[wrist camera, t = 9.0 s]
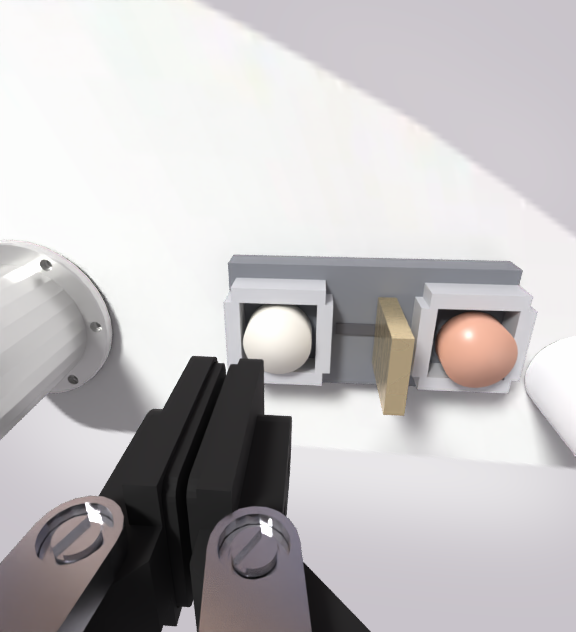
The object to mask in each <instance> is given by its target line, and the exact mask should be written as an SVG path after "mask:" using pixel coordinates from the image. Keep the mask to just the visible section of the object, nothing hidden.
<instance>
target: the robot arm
mask: <svg viewBox="0 0 576 632" xmlns="http://www.w3.org/2000/svg"><path fill="white" fill-rule="evenodd" d="M111 345H112V326H111V319H110V316H109V313H108V310H107V307H106V304H105V302H104V300H103V298H102V297H101V295H100V293H99V291H98V290H97V288H96V287H95V286H94V284H93V283H92V282H91V281H90V279H89V278H88V277H87V276H86V275H85V274H84V273H83V272H82V271H81V270H80V269H79V268H78V267H77V266H76V265H74V264H73V263H72V262H70V261H69V260H67V259H66V258H64V257H63V256H62V255H60V254H58V253H56V252H54V251H52V250H50V249H48V248H46V247H43V246H40V245H37V244H33V243H30V242H25V241H16V240H4V241H0V440H1V439H2V438H3V437H4V436H5V435H6V434H7V433H8V432H9V431H10V430H11V429H12V428H13V427H14V426H15V425H16V424H17V423H18V422H19V421H20V420H21V419H22V418H23V417H24V416H25V415H26V414H27V413H28V412H29V411H30V410H31V409H32V408H33V407H34V406H35V405H36V404H37V403H38V402H39V401H40V400H41V399H43V398H44V397H45V396H46V395H47V394H50V393H62V392H66V391H71V390H73V389H75V388H78V387H80V386H82V385H84V384H85V383H86V382H88V381H89V380H90V379H92V378H93V377H94V376H95V374H96V373H97V372H98V371H99V370H100V369H101V368H102V366H103V364H104V363H105V361H106V360H107V358H108V355H109V352H110V349H111ZM291 431H292V417H291V416H275V415H264V361H263V359H246V358H240V359H239V362H238V364H230V366H229V369H228V372H227V375H226V369H225V364H224V363H218V361H217V358H216V357H204V356H192V357H191V358H190V360H189V362H188V364H187V366H186V368H185V369H184V371H183V373H182V375H181V377H180V379H179V380H178V382H177V384H176V386H175V388H174V390H173V391H172V393H171V395H170V397H169V399H168V401H167V402H166V404H165V406H164V408H163V409H152V410H150V411H149V413H148V414H147V415H146V417H145V419H144V420H143V422H142V424H141V425H140V427H139V429H138V430H137V432H136V434H135V435H134V437H133V439H132V441H131V442H130V444H129V446H128V447H127V449H126V451H125V452H124V454H123V456H122V457H121V459H120V461H119V463H118V464H117V466H116V468H115V469H114V471H113V473H112V474H111V476H110V478H109V480H108V481H107V483H106V485H105V486H104V488H103V490H102V491H101V493H100V495H99V496H86V497H80V498H75V499H73V500H70V501H68V502H65V503H63V504H60V505H59V506H57V507H56V508H54V509H53V510H51V511H49V512H48V513H46V515H44V516H43V517H42V518H41V519H40V520H39V521H38V522H36V523H35V525H34V526H33V527H32V528H31V529H30V530H29V531H28V532H27V534H26V535H25V536H24V537H23V538H22V539H21V541H19V543H18V544H17V545H16V546H15V547H14V548H13V549H12V550H11V552H10V553H9V554H8V555H7V556H6V557H5V558H4V559H3V561H2V562H1V563H0V632H161V631H162V628H163V625H165V626H177V623H178V619H179V616H180V612H181V609H182V607H190V606H191V605H192V602H193V600H194V608H195V616H196V626H197V632H370V631H369V630H368V628H367V627H366V626H365V625H364V624H363V623H362V622H361V621H360V620H359V619H358V618H357V617H356V616H355V615H354V614H353V613H352V612H351V611H350V610H349V609H348V608H347V607H346V606H345V605H344V604H343V603H342V601H341V600H340V599H339V598H338V597H337V596H335V594H334V593H333V592H332V591H331V590H330V589H329V588H328V587H327V586H326V585H325V584H324V583H323V582H322V581H321V580H320V579H319V578H318V577H317V576H316V575H315V574H314V573H313V571H311V569H309V567H307V565H306V564H305V563H304V562H303V558H302V552H301V551H302V550H301V543H300V538H299V535H298V532H297V529H296V528H295V527H294V525H293V523H292V522H291V521H290V519H289V518H287V517H286V515H287V502H288V490H289V476H290V459H291Z"/></svg>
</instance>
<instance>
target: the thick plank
mask: <svg viewBox="0 0 576 632" xmlns="http://www.w3.org/2000/svg"><path fill="white" fill-rule="evenodd" d="M414 342H415V338H414V336H413V334H412V331H411V329H410V327H409V325H408V322H407V320H406V318H405V316H404V313H403V311H402V309H401V307H400V304H399V302H398V300H397V298H389V297H378V305H377V315H376V325H375V335H374V346H373V356H372V366H373V370H374V375H375V379H376V384H377V389H378V393H379V398H380V402H381V407H382V411H383V415H400V416H404V413H405V406H406V399H407V392H408V384H409V377H410V370H411V363H412V356H413V349H414Z"/></svg>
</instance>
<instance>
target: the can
mask: <svg viewBox="0 0 576 632" xmlns="http://www.w3.org/2000/svg"><path fill="white" fill-rule="evenodd" d="M525 387H526V390H527V393H528V395H529V396H530V398H531V399H532V400H533V402H534V403H535V405H536V406H537V407H538V409H539V410H540V411H541V412H542V414H543V415H544V416H545V418H546V419H547V420H548V422H549V423H550V424H551V426H552V427H553V428H554V429H555V431H556V432H557V433H558V435H559V436H560V437H561V439H562V440H563V441H564V442H565V444H566V445H567V446H568V448H569V449H570V450H571V451H572V453H573V454H574V455H575V457H576V337H570V338H566V339H562V340H559V341H556V342H554V343H552V344H550V345H548V346H547V347H545V348H544V349H542V350H541V351H540V352H539V353H538V354H537V355H536V356H535V357H534V358H533V360H532V361H531V363H530V365H529V366H528V369H527V371H526V375H525Z"/></svg>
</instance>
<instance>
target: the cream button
mask: <svg viewBox="0 0 576 632" xmlns="http://www.w3.org/2000/svg"><path fill="white" fill-rule="evenodd" d="M311 341H312V327H311V323H310V320H309V319H308V317H307V315H306V314H305V313H304V312H303V311H302V310H301V309H300V308H298V307H297V306H295V305H293V304H264V305H262V306H261V307H259V308H258V309H257V310H256V311H255V312H254V313H253V314H252V316H251V318H250V320H249V323H248V326H247V328H246V331H245V334H244V338H243V346H244V351H245V353H246V356H247V357H248V359H263V361H264V371H265V372H268V373H272V374H285V373H290V372H292V371H295V370H296V369H298V368H300V367H301V366H302V365H303V364H304V363H305V362H306V360H307V359H308V357H309V355H310V351H311Z"/></svg>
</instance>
